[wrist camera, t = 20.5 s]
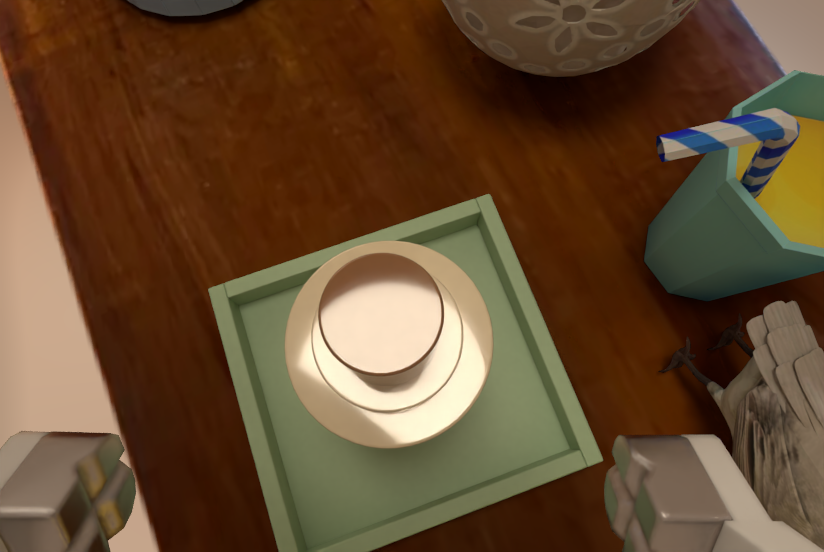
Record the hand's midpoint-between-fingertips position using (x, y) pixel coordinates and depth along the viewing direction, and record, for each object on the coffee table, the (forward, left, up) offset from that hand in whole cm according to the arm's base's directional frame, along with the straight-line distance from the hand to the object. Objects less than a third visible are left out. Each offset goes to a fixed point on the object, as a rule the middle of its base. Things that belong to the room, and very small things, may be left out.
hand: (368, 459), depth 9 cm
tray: (+1, +3, -19) cm, 19 cm away
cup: (+17, +4, -19) cm, 26 cm away
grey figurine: (+16, -8, -19) cm, 26 cm away
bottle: (+1, +3, -18) cm, 19 cm away
